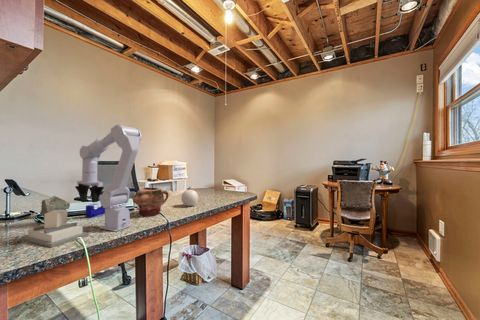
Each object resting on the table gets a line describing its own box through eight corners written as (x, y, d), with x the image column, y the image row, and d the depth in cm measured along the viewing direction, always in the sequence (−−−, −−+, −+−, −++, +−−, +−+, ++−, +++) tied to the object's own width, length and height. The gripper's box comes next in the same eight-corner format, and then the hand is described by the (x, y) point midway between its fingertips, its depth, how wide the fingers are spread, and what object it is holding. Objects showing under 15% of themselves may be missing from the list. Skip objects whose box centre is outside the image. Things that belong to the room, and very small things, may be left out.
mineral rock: (68, 211, 117) (69, 192, 117) (75, 214, 111) (75, 195, 110) (36, 215, 107) (37, 195, 107) (41, 220, 100) (42, 198, 100)
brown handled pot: (159, 208, 127) (160, 185, 127) (174, 211, 121) (174, 187, 121) (127, 216, 110) (128, 189, 110) (142, 220, 104) (143, 191, 104)
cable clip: (101, 211, 118) (101, 200, 118) (109, 212, 117) (109, 201, 117) (82, 217, 106) (83, 205, 106) (91, 218, 105) (91, 206, 105)
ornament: (185, 203, 142) (186, 185, 142) (200, 204, 140) (200, 186, 140) (178, 207, 132) (178, 187, 132) (194, 208, 130) (194, 188, 130)
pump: (69, 221, 85) (69, 208, 84) (57, 227, 77) (57, 213, 77) (57, 221, 84) (58, 209, 84) (44, 227, 76) (44, 214, 76)
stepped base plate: (88, 235, 82) (88, 223, 82) (51, 247, 71) (51, 234, 71) (59, 229, 88) (59, 218, 88) (21, 238, 77) (21, 226, 77)
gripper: (109, 172, 100) (108, 201, 100) (87, 170, 105) (87, 198, 105) (94, 173, 94) (93, 204, 94) (72, 171, 99) (71, 200, 99)
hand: (89, 201), depth 99 cm, fingers open, 7 cm apart
